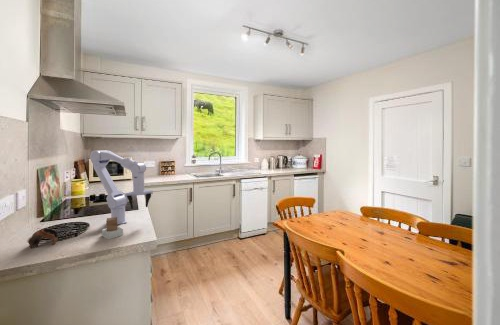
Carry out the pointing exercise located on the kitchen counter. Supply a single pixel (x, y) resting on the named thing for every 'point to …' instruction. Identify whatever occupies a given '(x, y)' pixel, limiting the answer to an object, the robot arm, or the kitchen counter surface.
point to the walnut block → (111, 224)
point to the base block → (112, 233)
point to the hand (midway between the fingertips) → (139, 207)
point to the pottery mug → (44, 232)
